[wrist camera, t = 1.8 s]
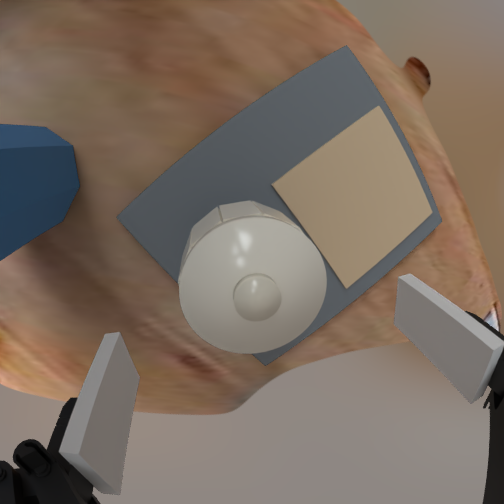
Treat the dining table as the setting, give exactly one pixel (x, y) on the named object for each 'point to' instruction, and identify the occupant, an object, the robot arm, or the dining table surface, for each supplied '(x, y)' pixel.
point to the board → (303, 181)
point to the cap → (250, 278)
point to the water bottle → (33, 183)
